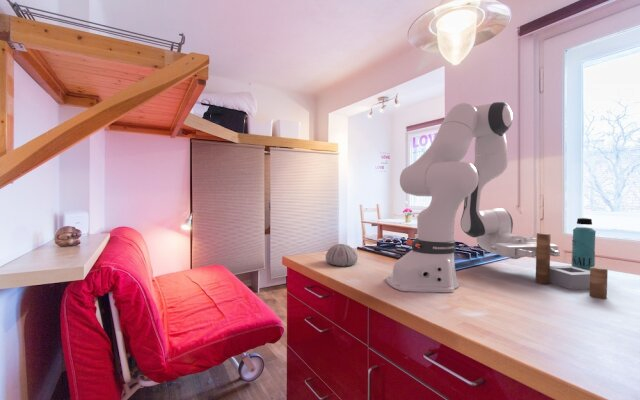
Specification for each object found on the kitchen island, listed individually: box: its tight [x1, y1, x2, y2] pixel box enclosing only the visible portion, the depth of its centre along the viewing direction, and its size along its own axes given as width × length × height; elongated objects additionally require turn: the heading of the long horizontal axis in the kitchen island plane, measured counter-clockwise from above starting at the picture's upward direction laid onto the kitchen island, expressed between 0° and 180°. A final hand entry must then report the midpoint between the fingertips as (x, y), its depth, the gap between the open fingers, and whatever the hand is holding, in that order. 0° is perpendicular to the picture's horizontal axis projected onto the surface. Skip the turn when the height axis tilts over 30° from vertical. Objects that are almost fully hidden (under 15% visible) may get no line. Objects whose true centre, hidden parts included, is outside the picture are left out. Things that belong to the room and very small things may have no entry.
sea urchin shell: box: [325, 243, 359, 267], centre depth 122 cm, size 13×14×8 cm
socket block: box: [549, 265, 590, 291], centre depth 95 cm, size 10×10×4 cm
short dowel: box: [588, 266, 609, 299], centre depth 84 cm, size 4×4×8 cm
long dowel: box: [535, 232, 552, 286], centre depth 96 cm, size 4×4×16 cm
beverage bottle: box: [571, 217, 596, 271], centre depth 108 cm, size 6×7×20 cm
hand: (545, 254), depth 95 cm, fingers open, 8 cm apart
